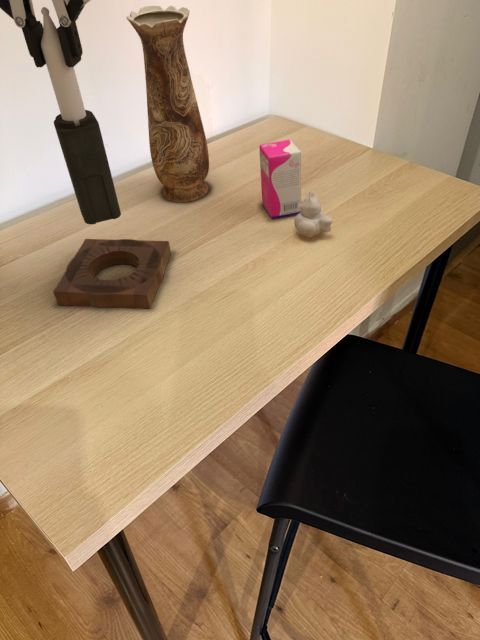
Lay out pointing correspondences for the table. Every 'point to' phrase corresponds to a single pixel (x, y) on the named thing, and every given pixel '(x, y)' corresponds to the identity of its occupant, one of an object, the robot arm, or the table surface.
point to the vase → (172, 104)
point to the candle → (79, 135)
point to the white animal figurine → (312, 217)
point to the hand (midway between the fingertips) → (58, 62)
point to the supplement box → (280, 178)
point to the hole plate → (119, 292)
